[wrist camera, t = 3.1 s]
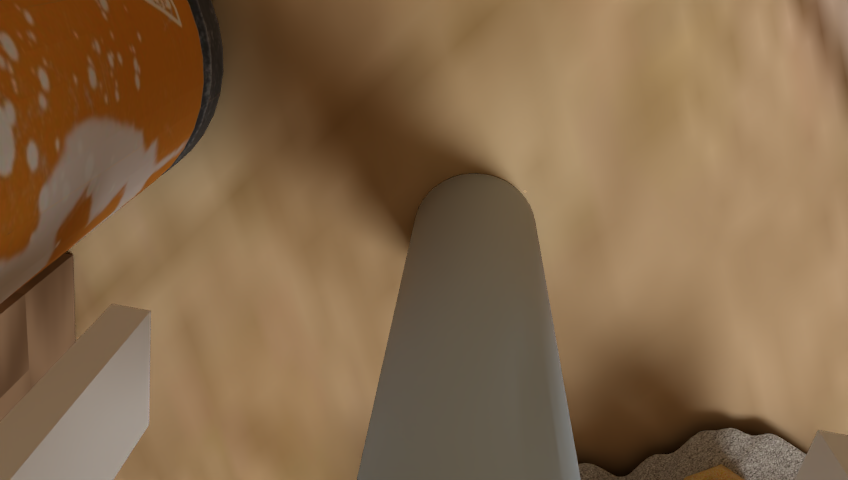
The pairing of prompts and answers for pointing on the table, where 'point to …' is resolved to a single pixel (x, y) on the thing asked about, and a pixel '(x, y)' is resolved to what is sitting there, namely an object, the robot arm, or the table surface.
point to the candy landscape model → (716, 459)
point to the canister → (94, 114)
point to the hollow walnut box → (35, 330)
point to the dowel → (471, 349)
